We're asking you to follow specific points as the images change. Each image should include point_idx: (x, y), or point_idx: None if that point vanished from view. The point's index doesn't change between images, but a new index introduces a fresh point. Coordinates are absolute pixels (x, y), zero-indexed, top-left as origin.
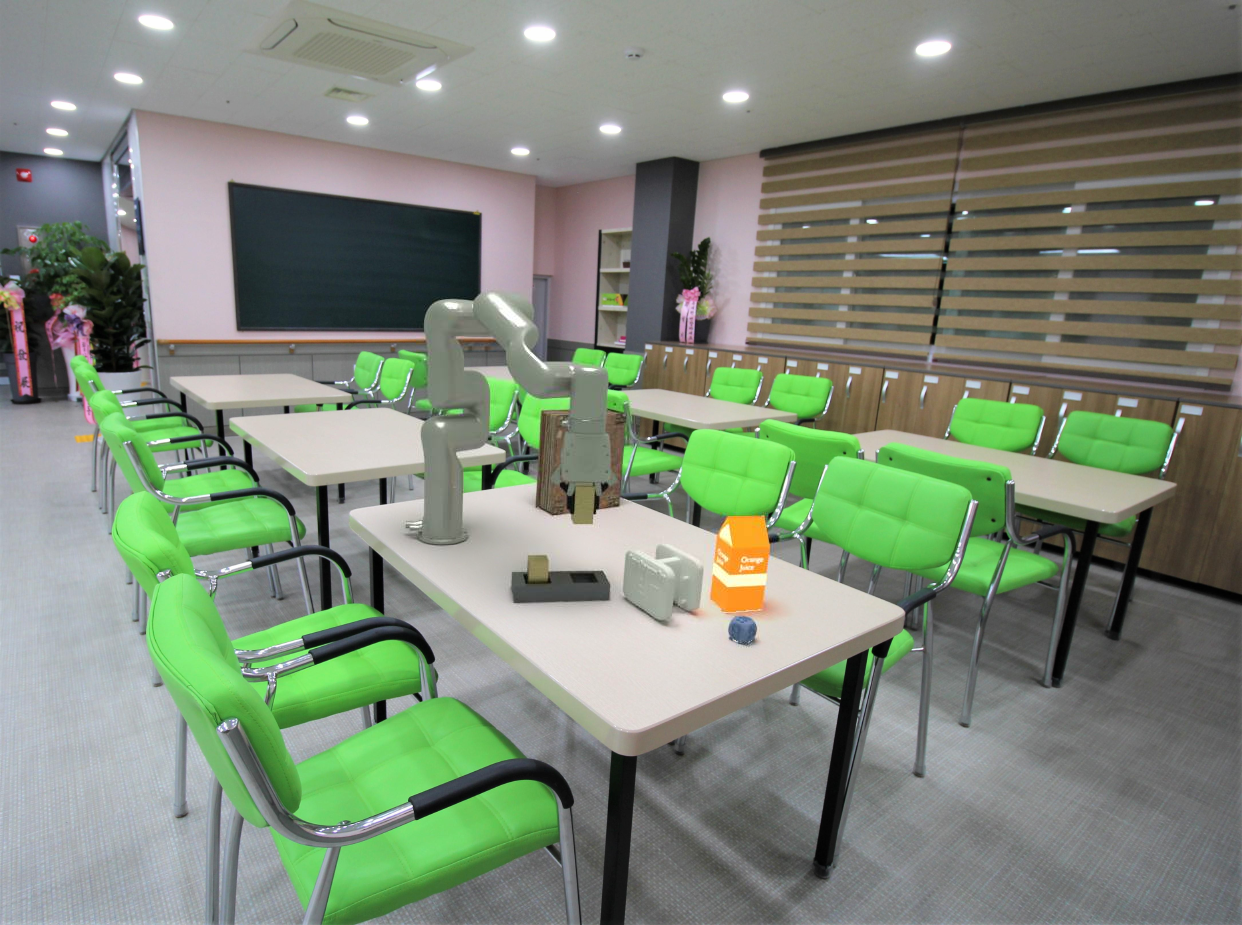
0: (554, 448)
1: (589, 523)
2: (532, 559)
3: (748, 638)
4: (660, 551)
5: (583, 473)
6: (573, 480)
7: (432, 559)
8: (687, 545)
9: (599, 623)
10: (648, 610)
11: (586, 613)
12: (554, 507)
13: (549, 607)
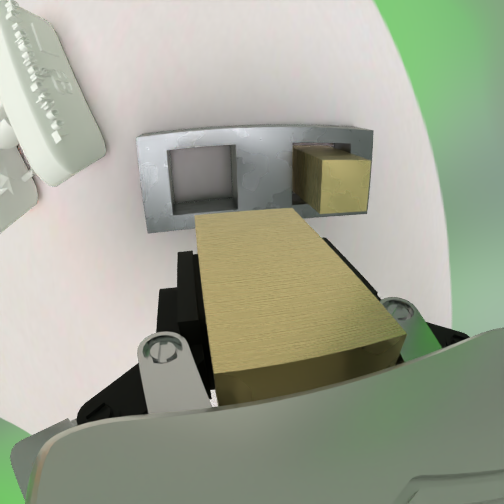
0: None
1: (212, 214)
2: (360, 180)
3: None
4: None
5: (457, 450)
6: (483, 343)
7: (428, 306)
8: (21, 394)
9: (187, 18)
10: (67, 61)
11: (208, 63)
12: None
13: (287, 97)
